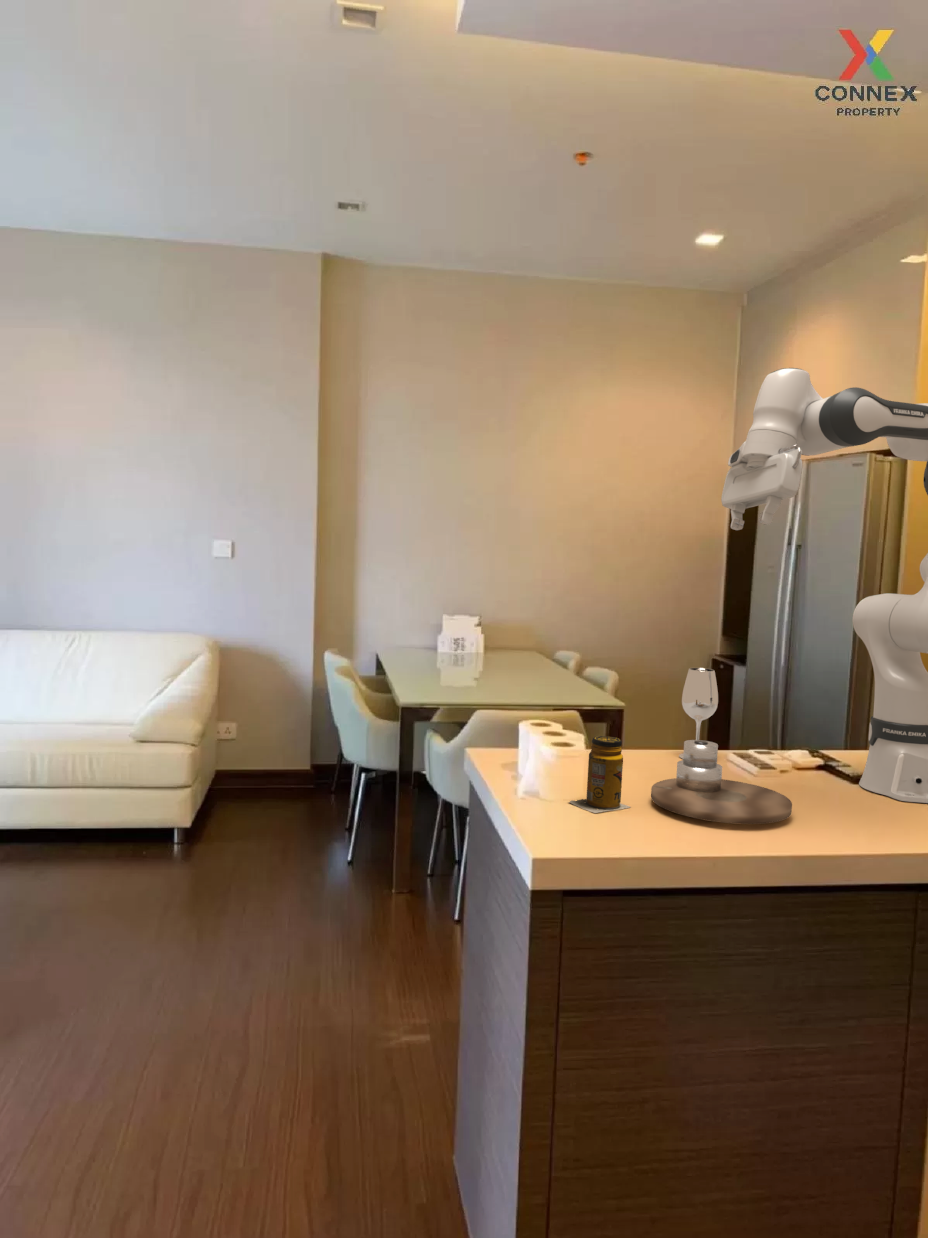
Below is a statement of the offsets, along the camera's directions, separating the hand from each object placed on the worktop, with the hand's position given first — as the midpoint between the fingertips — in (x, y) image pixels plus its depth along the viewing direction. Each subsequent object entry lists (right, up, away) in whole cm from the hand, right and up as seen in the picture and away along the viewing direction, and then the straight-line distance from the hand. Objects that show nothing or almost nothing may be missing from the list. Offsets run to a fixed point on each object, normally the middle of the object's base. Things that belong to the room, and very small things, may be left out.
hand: (749, 526), depth 160 cm
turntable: (-6, -50, -3) cm, 50 cm away
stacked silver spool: (-9, -48, +2) cm, 48 cm away
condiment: (-28, -50, -3) cm, 57 cm away
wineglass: (0, -48, +37) cm, 61 cm away
